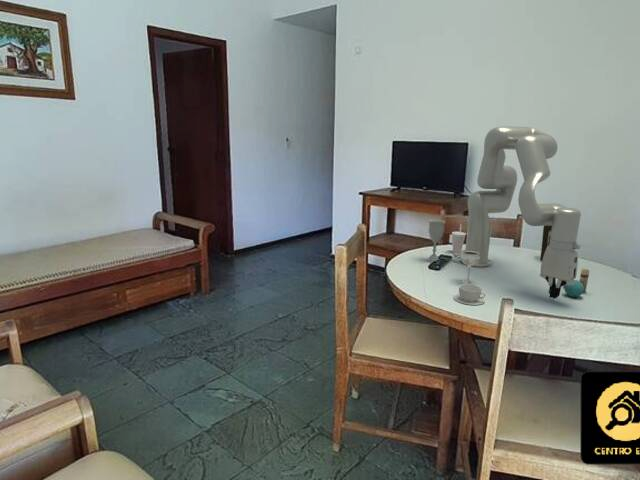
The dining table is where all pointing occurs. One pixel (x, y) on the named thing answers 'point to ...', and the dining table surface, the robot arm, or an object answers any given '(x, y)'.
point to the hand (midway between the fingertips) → (553, 297)
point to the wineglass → (469, 261)
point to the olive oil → (545, 239)
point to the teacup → (470, 294)
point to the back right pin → (584, 278)
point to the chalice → (435, 235)
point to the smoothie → (458, 240)
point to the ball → (574, 289)
